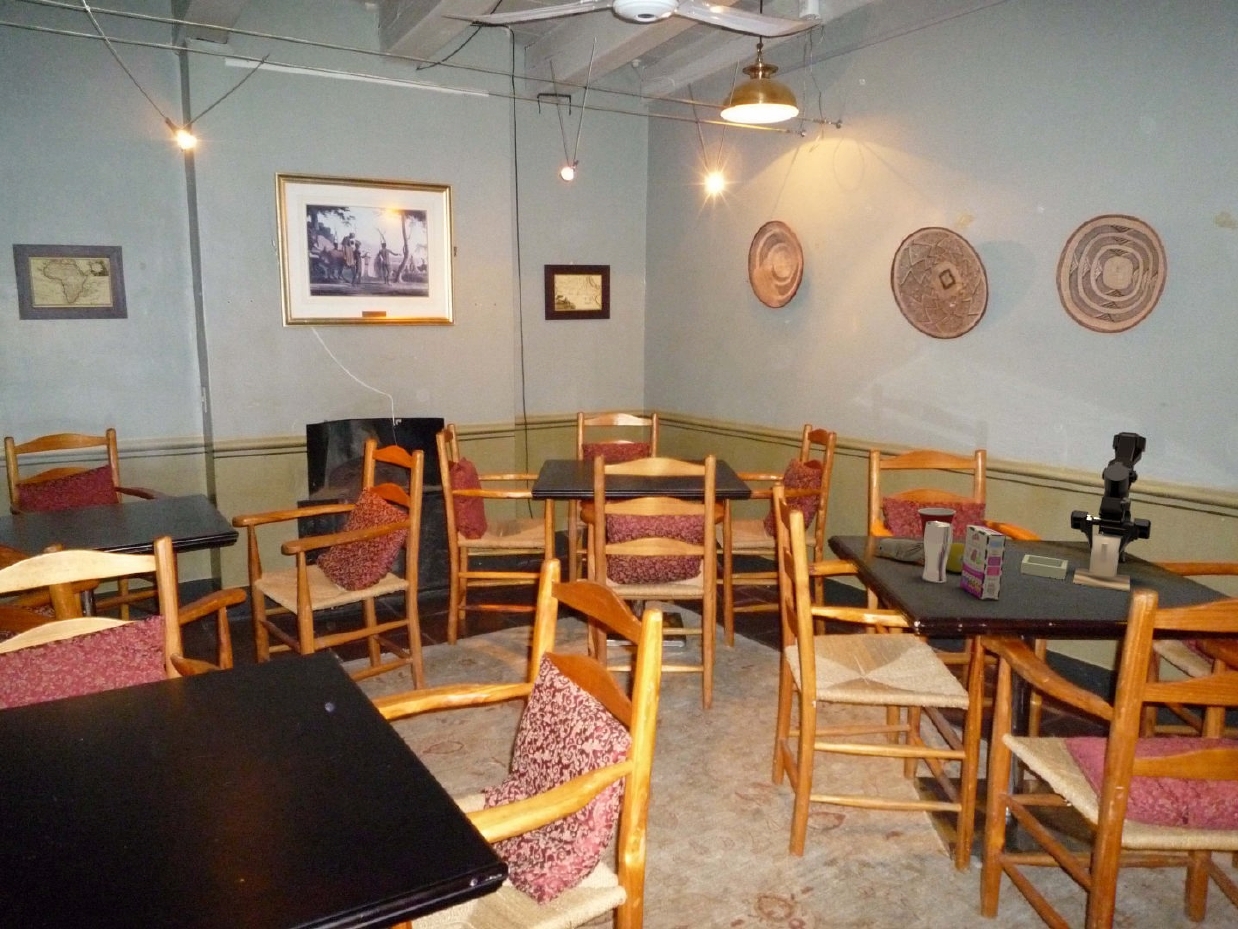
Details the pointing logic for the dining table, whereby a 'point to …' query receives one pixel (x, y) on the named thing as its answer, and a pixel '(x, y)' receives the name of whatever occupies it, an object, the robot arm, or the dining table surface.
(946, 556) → the beer glass
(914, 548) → the decorative bird
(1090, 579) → the serving board
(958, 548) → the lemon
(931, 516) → the plastic cup
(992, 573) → the candy bar box
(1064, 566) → the glass holder
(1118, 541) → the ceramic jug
